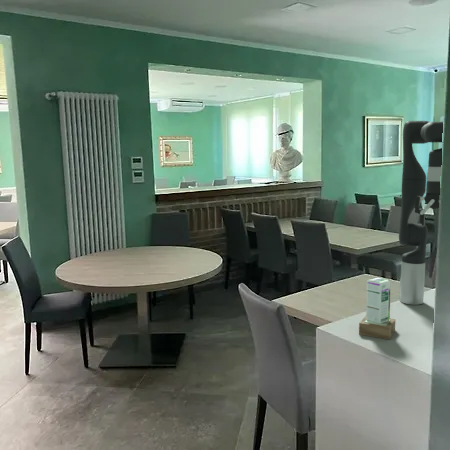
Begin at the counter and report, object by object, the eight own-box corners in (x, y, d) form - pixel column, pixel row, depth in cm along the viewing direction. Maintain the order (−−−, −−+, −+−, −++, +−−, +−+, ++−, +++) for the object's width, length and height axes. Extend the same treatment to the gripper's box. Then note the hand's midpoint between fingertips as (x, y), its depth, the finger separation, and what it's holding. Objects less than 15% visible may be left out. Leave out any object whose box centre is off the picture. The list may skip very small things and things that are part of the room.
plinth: (366, 325, 168) (366, 314, 168) (395, 330, 163) (395, 318, 163) (358, 334, 160) (359, 322, 159) (389, 339, 155) (389, 327, 154)
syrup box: (380, 324, 157) (381, 282, 155) (365, 319, 162) (366, 279, 160) (389, 320, 161) (391, 280, 159) (375, 316, 165) (376, 276, 163)
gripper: (462, 179, 162) (459, 225, 164) (418, 179, 169) (416, 223, 171) (460, 180, 155) (457, 228, 157) (415, 180, 162) (412, 226, 165)
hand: (436, 225), depth 164 cm, fingers open, 8 cm apart
